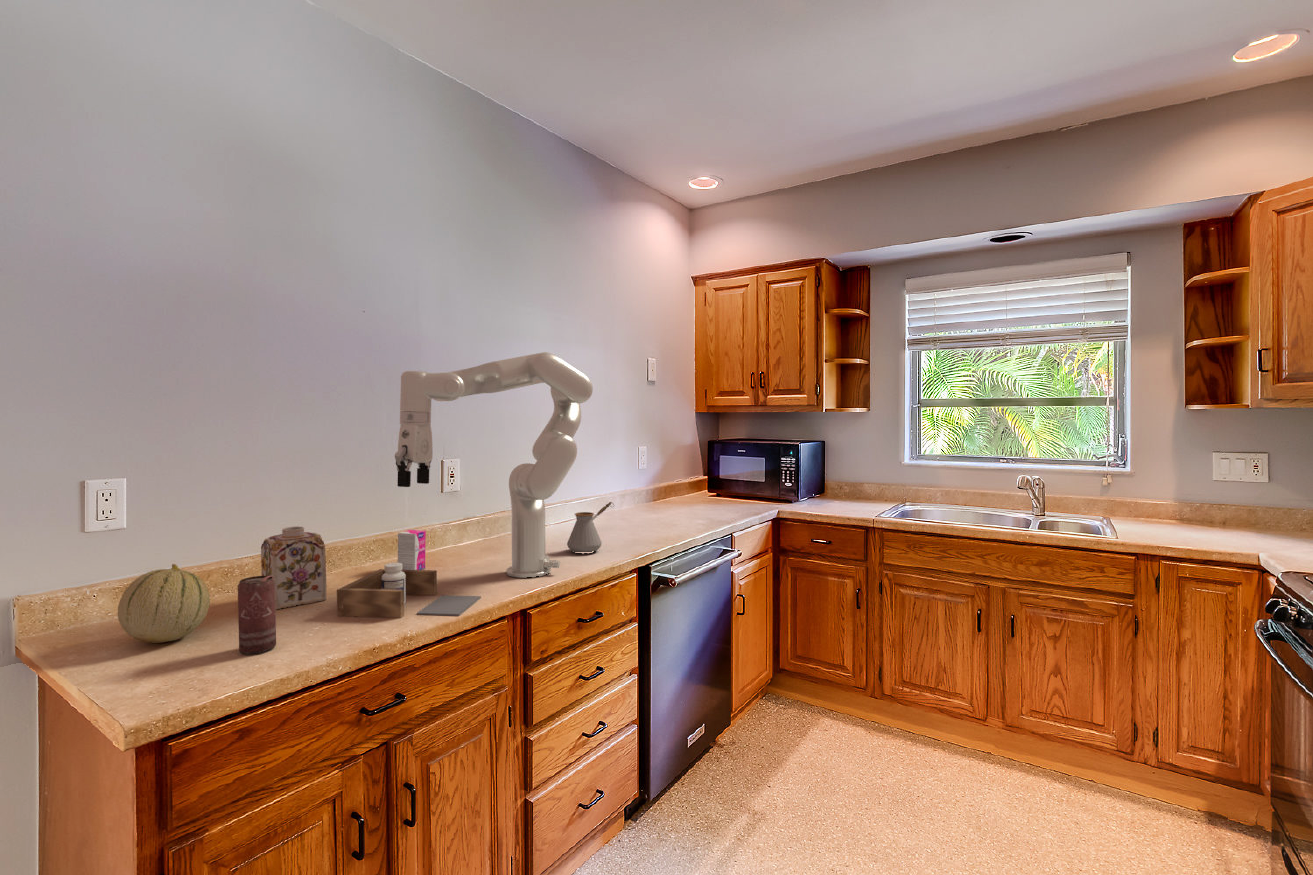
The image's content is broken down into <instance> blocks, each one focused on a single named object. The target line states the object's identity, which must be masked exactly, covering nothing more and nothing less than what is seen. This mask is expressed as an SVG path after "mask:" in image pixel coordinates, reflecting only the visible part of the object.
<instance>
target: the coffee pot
mask: <svg viewBox="0 0 1313 875" xmlns="http://www.w3.org/2000/svg"><path fill="white" fill-rule="evenodd" d="M611 504H613V506H612V505H611ZM609 507H611V508H613V507H615V504H614V503H613V502H612V501H610V502H608V503H607V504H605V505H604V506H603V507H602V508H601V509H600V510H598V512H596V514H595V513H594V512H590V511H589V512H588V511H582V512H581V511H580V512H575V513H574V516H575V518H576V521H575V523H574V525H573V528H572V531H571V533H570V535H569V538H568V540H567V542H566V543H567V544H566V545H567V547H568V549H569V550H570V551H572V552H573V551H574V552H592V551H596V552H597V551H598V550H600V548H601V547H602V544H603V542H602V540H601V537H600V535H599V532H598V530H597V528H596V526H595V523H594V520H595V519H596V518H598V516H600V515H601V514H603V513H604V512H605V511H606V510H607V508H609Z"/></svg>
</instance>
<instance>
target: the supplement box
mask: <svg viewBox="0 0 1313 875" xmlns="http://www.w3.org/2000/svg"><path fill="white" fill-rule="evenodd" d="M426 532H427V530H419V529H418V530H417V529H408V530H404V531H401V532H400V531H399V532H397V563H402V567H403V569H402V570H426V541H427V540H426V538H427V537H426V536H427V534H426Z"/></svg>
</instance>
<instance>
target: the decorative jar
mask: <svg viewBox="0 0 1313 875" xmlns="http://www.w3.org/2000/svg"><path fill="white" fill-rule="evenodd" d="M260 550H261V551H260V564H261V565H260V567H261V576H273V578H274V581H275V611H277V609H278V610H281V608H283V609H288V608H292V606H293V607H297V606H296V605H298V606H302V605H301V604H304V605H307V604H308V605H310V604H313V603H318V601H319V602H324V601H326V600H327V558H326V556H327V555H326V545H325V542H324V540H323V537H322V536H321V534H319V533H317V532H309V531H305V527H304V526H299V525H298V526H290V527H289V526H287V527H284V528H282V530H281V534H275V535H272V536H269V537H267V538H265V539H264V540H263V542H262V544H261V547H260ZM287 607H288V608H287Z"/></svg>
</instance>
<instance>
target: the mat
mask: <svg viewBox="0 0 1313 875" xmlns="http://www.w3.org/2000/svg"><path fill="white" fill-rule="evenodd" d="M481 598H482V596H481V595H449V594H447V595H445V594H443V595H440V596H439V597H437V598H436V599H435V600H433V601H432V602H430V603H429V604H427V605H426V606H425V607H423V608H422V609H420V610H419V611H417V612H416V615H417V616H418V615H421V616H446V617H447V616H449V617H450V616H451V617H452V616H455V617H456V616H457V617H459V616H461V615H462V614H463V613H465V612H466V611H467V610H469V608H471V607H472V606H473V605H474V604H476V602H478V601H479V600H480V599H481Z"/></svg>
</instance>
